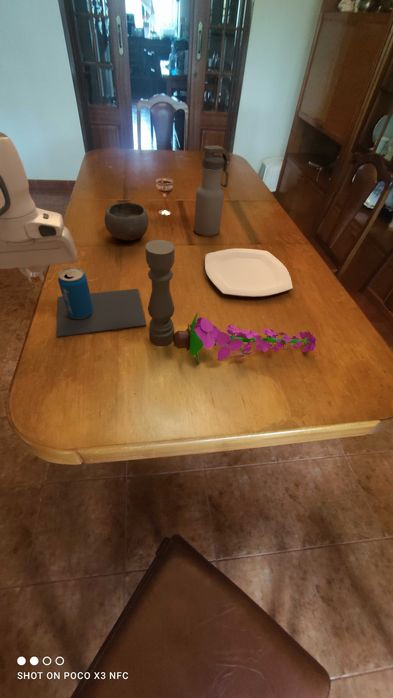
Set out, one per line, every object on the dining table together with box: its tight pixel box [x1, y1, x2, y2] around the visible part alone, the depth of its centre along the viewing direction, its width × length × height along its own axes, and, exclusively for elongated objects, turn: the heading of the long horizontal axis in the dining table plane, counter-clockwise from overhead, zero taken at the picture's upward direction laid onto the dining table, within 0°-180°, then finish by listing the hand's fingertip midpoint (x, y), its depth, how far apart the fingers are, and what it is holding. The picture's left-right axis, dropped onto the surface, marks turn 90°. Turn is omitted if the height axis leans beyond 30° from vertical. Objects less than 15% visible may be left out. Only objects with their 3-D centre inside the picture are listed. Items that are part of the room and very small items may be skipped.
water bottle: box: [193, 145, 231, 237], centre depth 111 cm, size 10×10×28 cm
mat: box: [55, 288, 148, 339], centre depth 85 cm, size 22×16×1 cm
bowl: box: [104, 201, 150, 241], centre depth 110 cm, size 15×15×10 cm
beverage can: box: [57, 266, 93, 319], centre depth 79 cm, size 6×6×12 cm
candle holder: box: [144, 239, 176, 348], centre depth 71 cm, size 6×6×25 cm
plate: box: [204, 247, 294, 298], centre depth 101 cm, size 27×27×2 cm
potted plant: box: [172, 311, 317, 364], centre depth 76 cm, size 12×16×35 cm
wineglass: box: [155, 177, 174, 216], centre depth 126 cm, size 7×7×12 cm
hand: (37, 280), depth 74 cm, fingers closed
